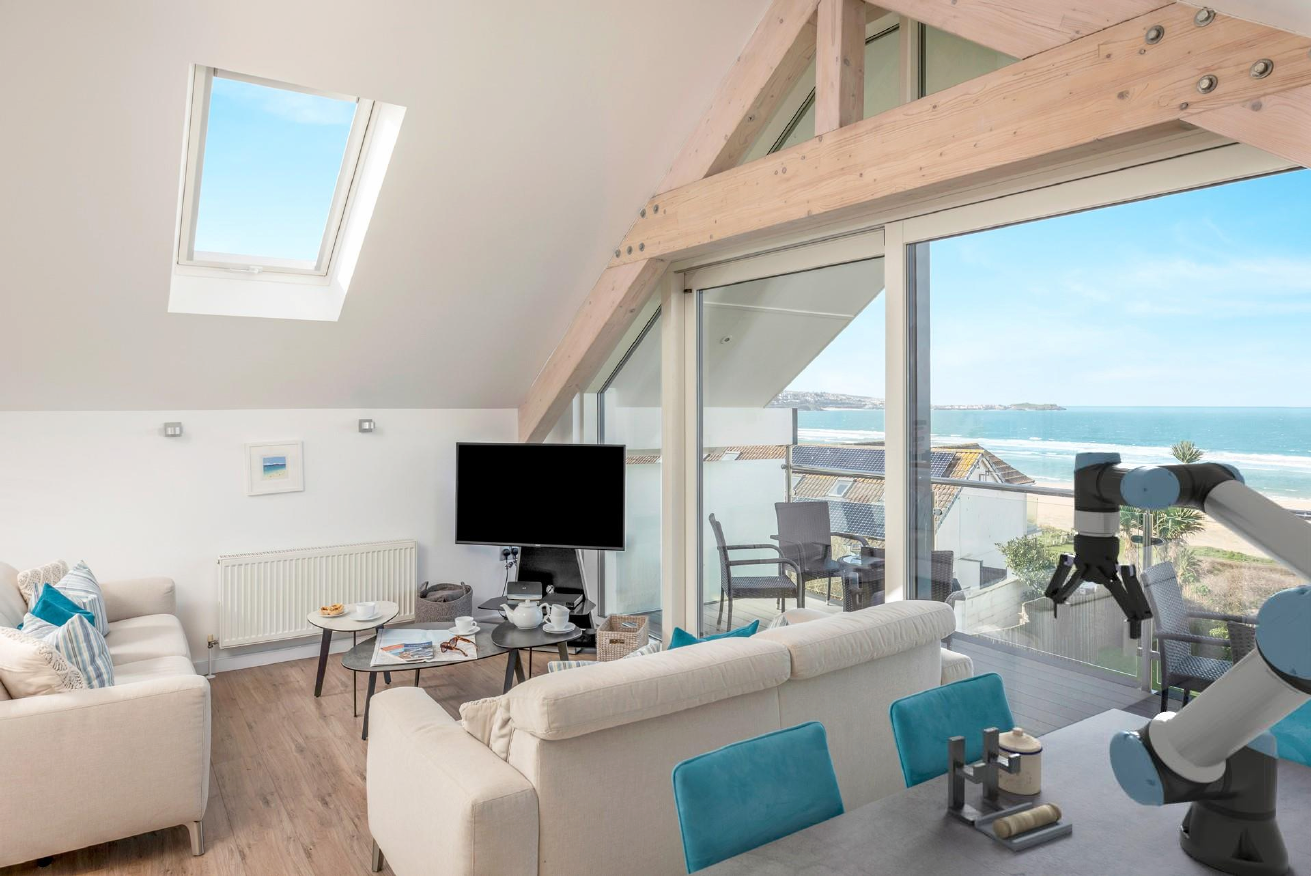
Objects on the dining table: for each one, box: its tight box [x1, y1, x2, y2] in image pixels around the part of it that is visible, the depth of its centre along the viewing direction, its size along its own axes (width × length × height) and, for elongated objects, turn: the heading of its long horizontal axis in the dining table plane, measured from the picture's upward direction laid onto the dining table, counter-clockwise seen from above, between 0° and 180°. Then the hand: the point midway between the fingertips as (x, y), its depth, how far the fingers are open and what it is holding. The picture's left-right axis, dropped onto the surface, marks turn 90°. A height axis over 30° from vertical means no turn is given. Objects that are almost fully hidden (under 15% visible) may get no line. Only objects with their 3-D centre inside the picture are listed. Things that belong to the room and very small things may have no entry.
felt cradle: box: [974, 801, 1073, 852], centre depth 147 cm, size 9×14×2 cm, turn 116°
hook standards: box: [947, 726, 1021, 827], centre depth 154 cm, size 6×13×14 cm, turn 116°
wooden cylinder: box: [993, 802, 1063, 839], centre depth 146 cm, size 14×3×3 cm, turn 115°
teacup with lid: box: [999, 727, 1044, 796], centre depth 164 cm, size 12×9×12 cm
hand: (1095, 646), depth 152 cm, fingers open, 13 cm apart
